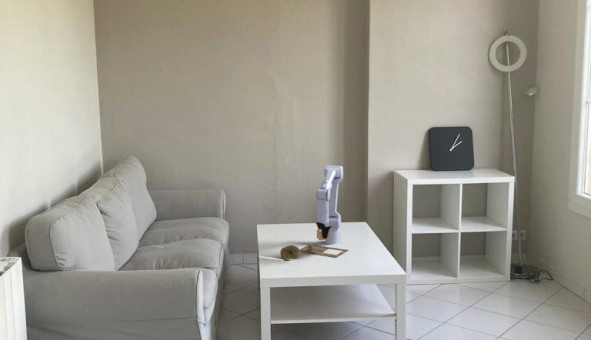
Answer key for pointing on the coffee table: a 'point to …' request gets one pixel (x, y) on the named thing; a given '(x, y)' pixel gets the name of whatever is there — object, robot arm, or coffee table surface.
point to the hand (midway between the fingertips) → (323, 237)
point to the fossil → (290, 252)
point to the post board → (320, 250)
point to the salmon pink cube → (319, 234)
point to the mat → (332, 252)
